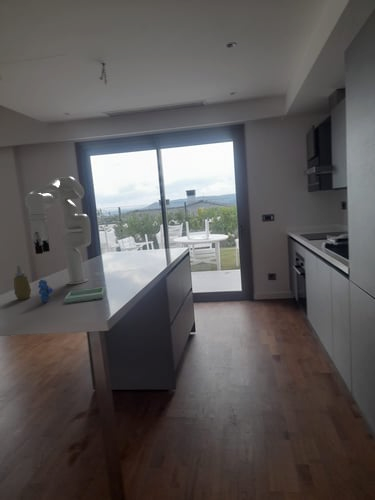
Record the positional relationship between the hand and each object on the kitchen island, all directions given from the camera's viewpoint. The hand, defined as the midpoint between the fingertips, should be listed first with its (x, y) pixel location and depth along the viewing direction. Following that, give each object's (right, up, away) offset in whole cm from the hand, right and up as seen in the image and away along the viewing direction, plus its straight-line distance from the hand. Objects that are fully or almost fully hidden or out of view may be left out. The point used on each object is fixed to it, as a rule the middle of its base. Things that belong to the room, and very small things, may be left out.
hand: (43, 252), depth 166 cm
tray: (+21, -23, +4) cm, 31 cm away
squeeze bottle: (-16, -25, +14) cm, 33 cm away
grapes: (+2, -25, +2) cm, 25 cm away
